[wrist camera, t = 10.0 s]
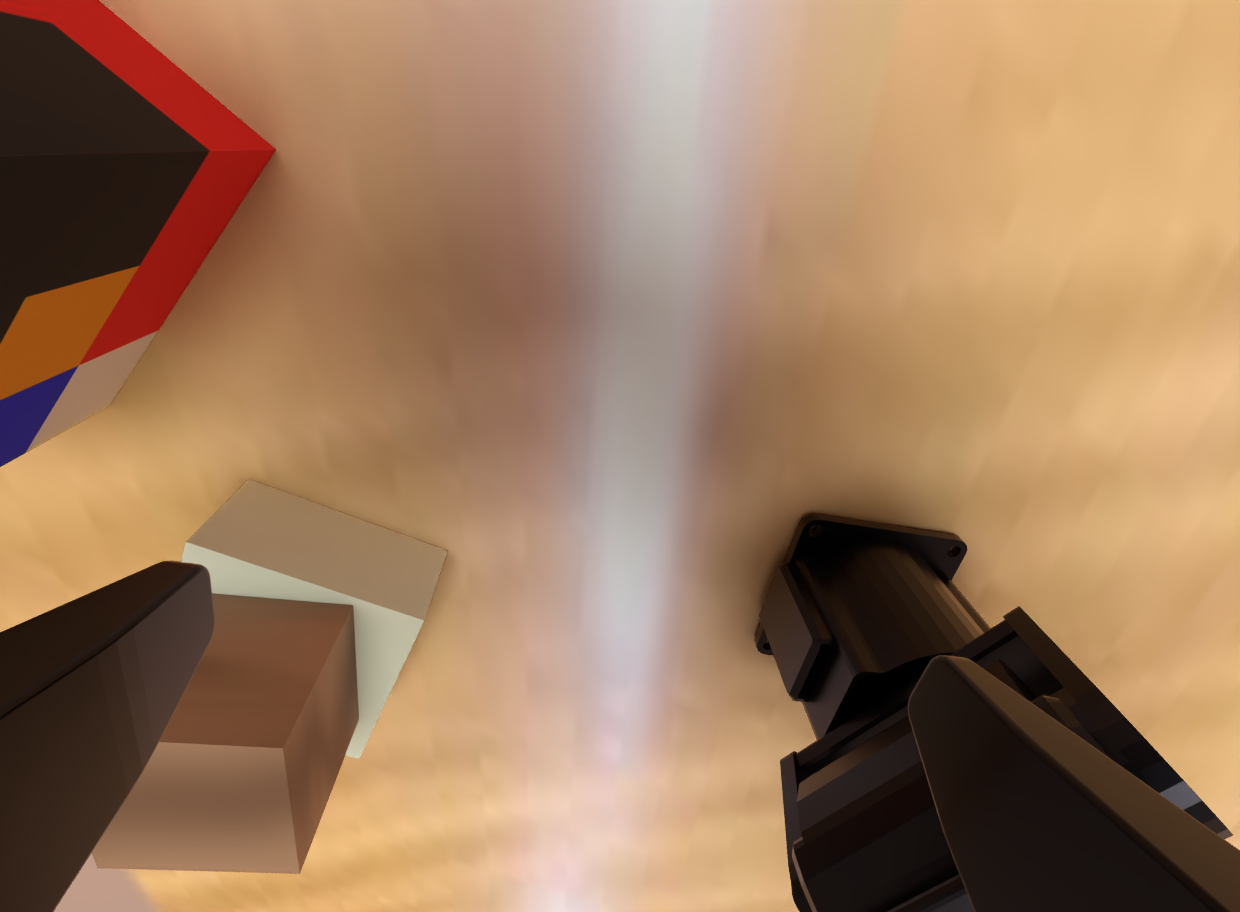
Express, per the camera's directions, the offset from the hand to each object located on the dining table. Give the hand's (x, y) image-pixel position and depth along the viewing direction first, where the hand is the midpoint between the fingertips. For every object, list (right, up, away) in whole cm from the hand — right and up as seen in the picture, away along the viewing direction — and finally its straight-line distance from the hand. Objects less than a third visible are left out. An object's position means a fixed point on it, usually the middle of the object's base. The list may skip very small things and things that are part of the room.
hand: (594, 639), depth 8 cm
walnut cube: (-11, -4, +12) cm, 17 cm away
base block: (-11, -3, +16) cm, 19 cm away
